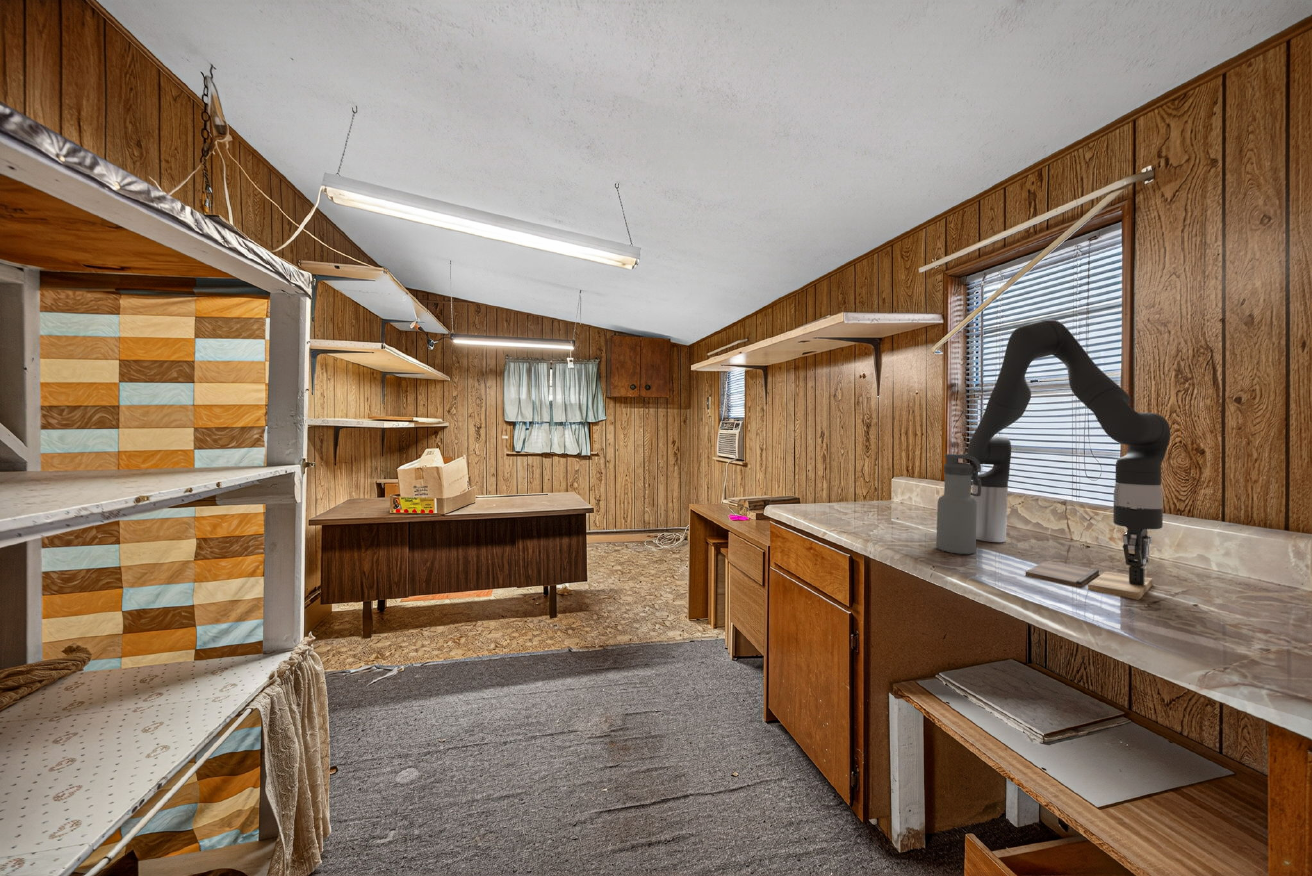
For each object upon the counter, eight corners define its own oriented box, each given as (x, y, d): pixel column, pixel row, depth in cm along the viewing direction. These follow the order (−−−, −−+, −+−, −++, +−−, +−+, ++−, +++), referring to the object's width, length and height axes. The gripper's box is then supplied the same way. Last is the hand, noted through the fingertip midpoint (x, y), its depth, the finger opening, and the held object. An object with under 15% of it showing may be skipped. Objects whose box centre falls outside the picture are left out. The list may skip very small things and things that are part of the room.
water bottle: (965, 546, 144) (968, 453, 143) (984, 555, 134) (988, 456, 133) (930, 545, 145) (932, 453, 144) (946, 554, 135) (949, 455, 134)
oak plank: (1105, 579, 114) (1105, 571, 114) (1152, 587, 108) (1152, 578, 108) (1088, 593, 104) (1087, 584, 104) (1138, 602, 98) (1138, 593, 98)
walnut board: (1046, 568, 123) (1046, 559, 123) (1098, 578, 115) (1099, 569, 115) (1025, 580, 113) (1025, 570, 113) (1080, 592, 105) (1081, 581, 105)
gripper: (1120, 500, 111) (1119, 575, 111) (1106, 505, 103) (1105, 585, 103) (1167, 504, 105) (1166, 583, 105) (1157, 509, 97) (1156, 595, 97)
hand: (1136, 584), depth 104 cm, fingers closed
